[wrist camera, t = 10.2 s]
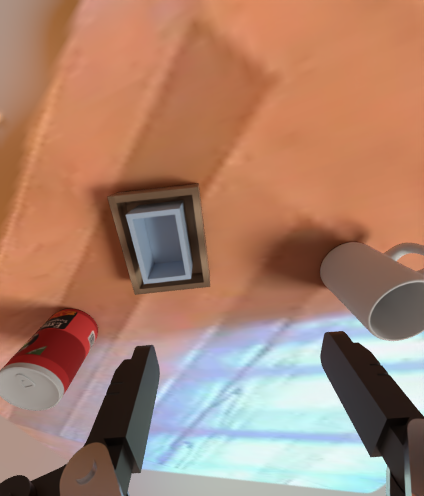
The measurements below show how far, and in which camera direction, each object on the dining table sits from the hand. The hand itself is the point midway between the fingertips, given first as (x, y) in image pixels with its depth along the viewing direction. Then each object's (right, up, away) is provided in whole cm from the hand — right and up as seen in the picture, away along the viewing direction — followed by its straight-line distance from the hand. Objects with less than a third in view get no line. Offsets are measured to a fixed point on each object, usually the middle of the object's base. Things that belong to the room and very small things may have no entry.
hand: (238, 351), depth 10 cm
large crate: (-8, +7, +21) cm, 23 cm away
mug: (+21, +3, +24) cm, 32 cm away
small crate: (-8, +7, +20) cm, 23 cm away
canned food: (-24, -8, +27) cm, 37 cm away
